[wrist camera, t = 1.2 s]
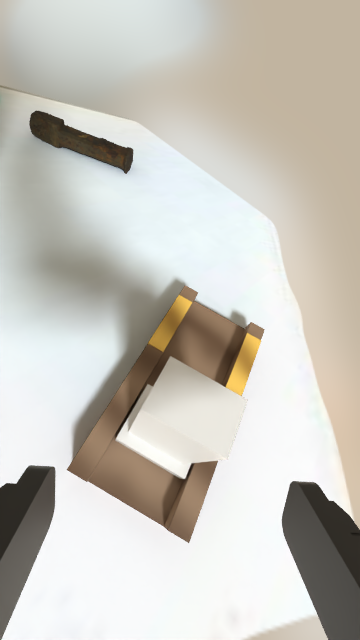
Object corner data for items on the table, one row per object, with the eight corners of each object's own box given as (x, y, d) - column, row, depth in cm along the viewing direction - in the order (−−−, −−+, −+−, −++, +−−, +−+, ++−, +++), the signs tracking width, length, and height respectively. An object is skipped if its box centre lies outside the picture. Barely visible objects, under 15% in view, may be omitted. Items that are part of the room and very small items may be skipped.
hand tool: (134, 166, 53) (136, 141, 49) (126, 177, 51) (128, 152, 47) (40, 130, 52) (35, 101, 48) (29, 139, 49) (22, 110, 46)
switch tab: (180, 478, 26) (232, 483, 15) (115, 440, 27) (121, 418, 16) (203, 421, 30) (260, 392, 19) (145, 388, 30) (168, 339, 19)
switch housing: (178, 533, 26) (189, 543, 22) (71, 470, 26) (66, 469, 23) (250, 342, 39) (265, 328, 35) (178, 301, 39) (185, 284, 36)
